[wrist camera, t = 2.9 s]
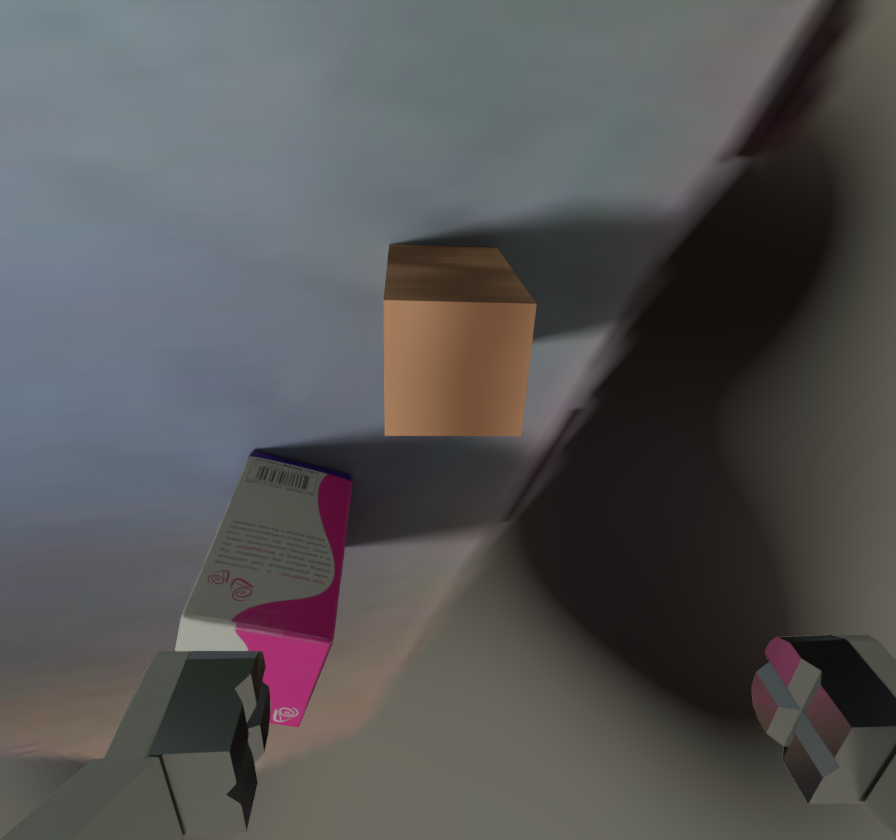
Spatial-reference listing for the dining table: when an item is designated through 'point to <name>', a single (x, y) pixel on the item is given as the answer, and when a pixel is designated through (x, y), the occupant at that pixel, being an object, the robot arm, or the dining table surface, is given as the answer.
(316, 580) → the supplement box
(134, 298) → the dining table surface
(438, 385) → the wooden block
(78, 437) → the dining table surface
